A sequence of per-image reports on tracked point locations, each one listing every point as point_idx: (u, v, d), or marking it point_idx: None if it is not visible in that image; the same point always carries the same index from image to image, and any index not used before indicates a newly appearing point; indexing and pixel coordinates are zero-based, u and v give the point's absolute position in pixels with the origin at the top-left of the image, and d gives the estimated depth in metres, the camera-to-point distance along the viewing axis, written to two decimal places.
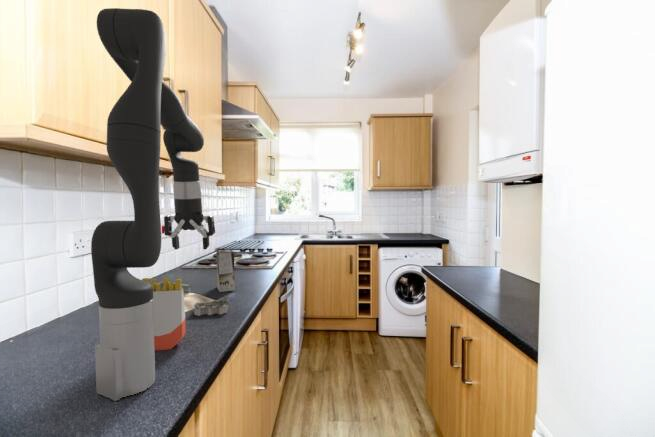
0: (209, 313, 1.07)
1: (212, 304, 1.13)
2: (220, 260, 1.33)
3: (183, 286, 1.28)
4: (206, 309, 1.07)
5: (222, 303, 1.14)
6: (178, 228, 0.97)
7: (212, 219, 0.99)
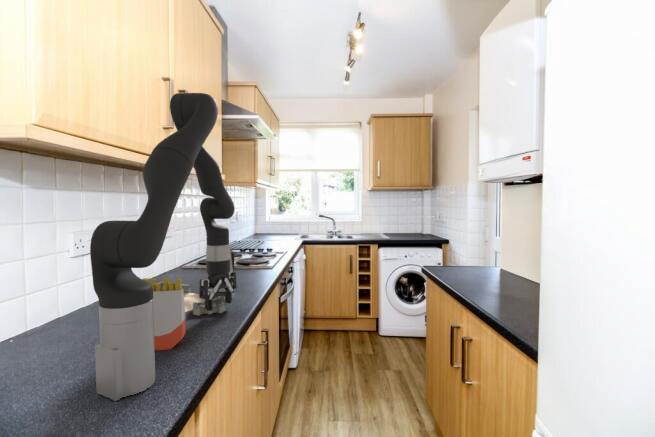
0: (209, 312, 1.07)
1: None
2: None
3: (183, 286, 1.28)
4: None
5: (218, 302, 1.15)
6: (216, 289, 1.05)
7: None
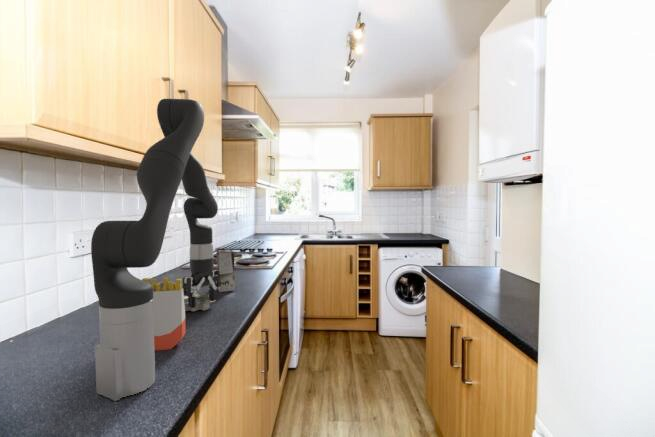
0: (193, 309, 1.09)
1: None
2: (220, 260, 1.33)
3: None
4: None
5: (202, 299, 1.17)
6: (199, 286, 1.08)
7: None
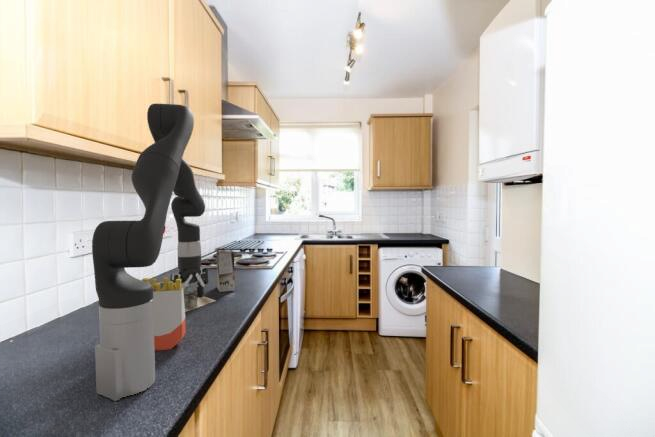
0: None
1: None
2: (220, 260, 1.33)
3: None
4: None
5: (191, 295, 1.19)
6: (187, 283, 1.11)
7: None
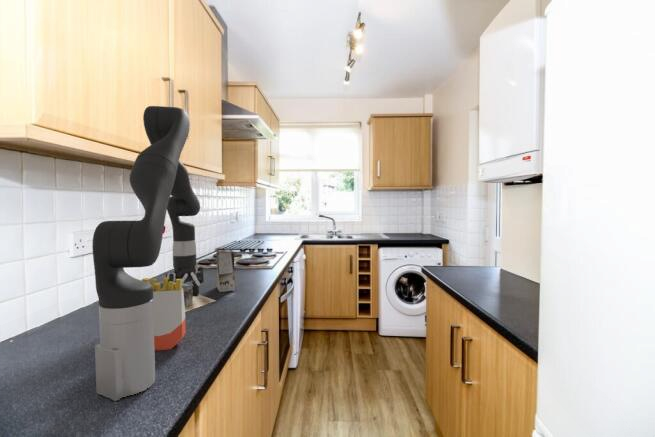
0: None
1: None
2: (220, 260, 1.33)
3: (183, 286, 1.28)
4: None
5: (186, 294, 1.20)
6: (182, 282, 1.12)
7: None
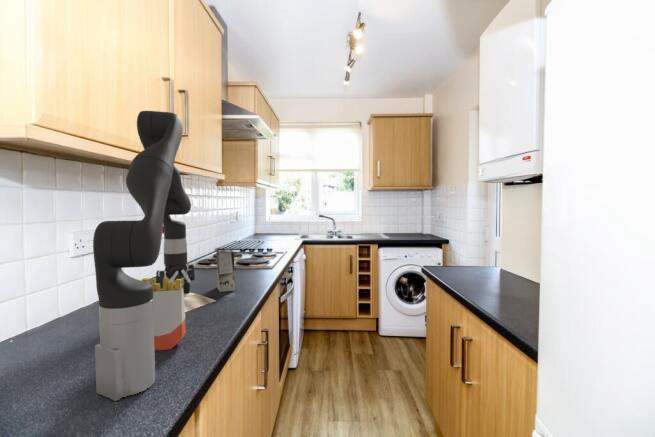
0: None
1: None
2: (220, 260, 1.33)
3: None
4: None
5: None
6: (173, 279, 1.14)
7: None
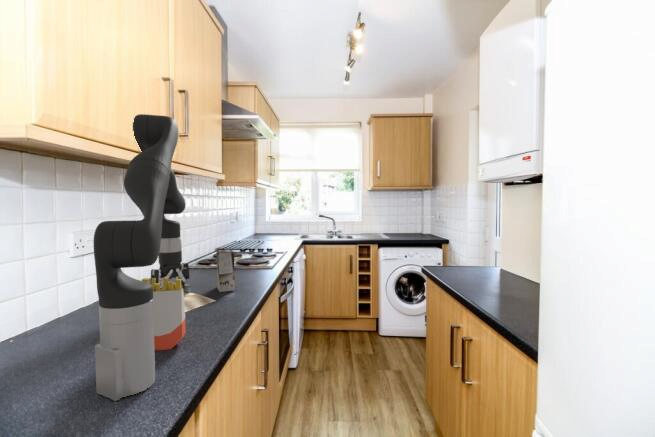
0: None
1: None
2: (220, 260, 1.33)
3: None
4: None
5: None
6: None
7: None
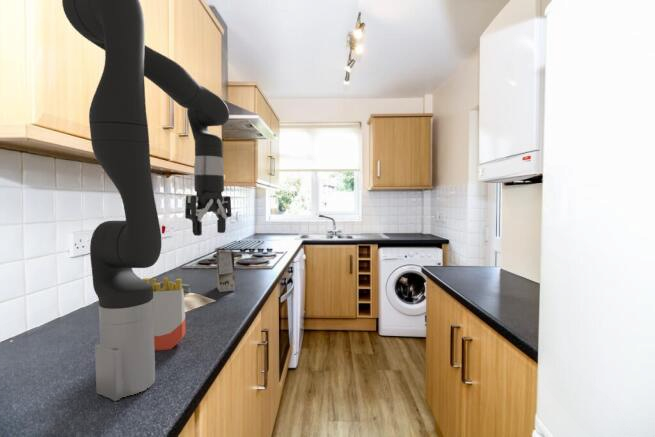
0: None
1: None
2: (220, 260, 1.33)
3: (183, 286, 1.28)
4: None
5: None
6: (206, 209, 0.86)
7: None
